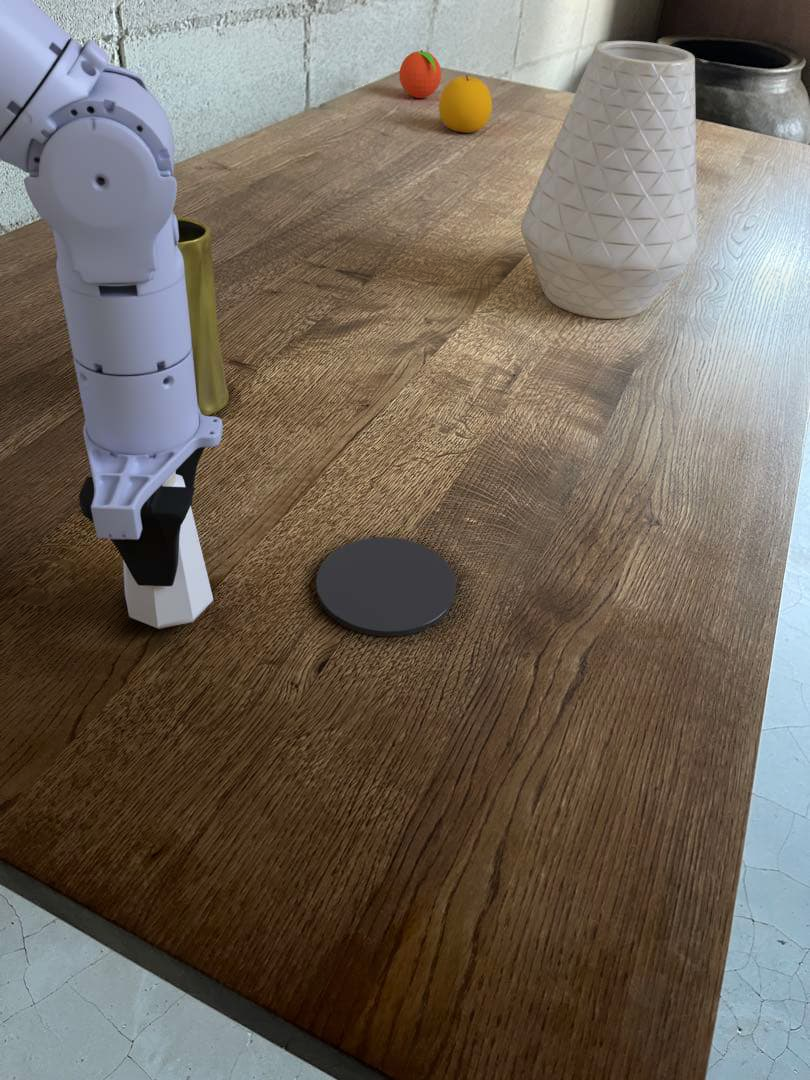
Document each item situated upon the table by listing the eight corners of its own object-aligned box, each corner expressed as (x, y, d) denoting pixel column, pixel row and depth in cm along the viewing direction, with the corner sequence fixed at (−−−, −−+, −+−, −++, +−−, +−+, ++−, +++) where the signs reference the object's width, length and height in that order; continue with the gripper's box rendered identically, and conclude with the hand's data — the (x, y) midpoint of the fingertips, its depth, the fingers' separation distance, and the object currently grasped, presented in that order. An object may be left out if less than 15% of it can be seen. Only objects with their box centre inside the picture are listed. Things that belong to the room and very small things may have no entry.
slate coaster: (311, 634, 56) (311, 629, 55) (319, 540, 63) (319, 534, 62) (459, 638, 56) (460, 633, 56) (451, 544, 63) (452, 539, 63)
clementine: (451, 102, 152) (455, 55, 147) (415, 106, 149) (418, 58, 144) (424, 90, 157) (428, 44, 153) (390, 94, 154) (392, 46, 150)
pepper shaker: (137, 566, 58) (111, 418, 51) (222, 572, 58) (208, 425, 51) (112, 627, 54) (81, 474, 47) (204, 633, 54) (186, 481, 47)
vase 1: (223, 422, 73) (208, 248, 64) (145, 418, 73) (120, 243, 64) (233, 383, 78) (221, 216, 69) (160, 380, 78) (139, 212, 69)
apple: (463, 140, 136) (468, 85, 131) (426, 127, 140) (430, 73, 135) (499, 132, 140) (506, 78, 135) (463, 119, 144) (468, 67, 140)
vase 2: (590, 349, 86) (644, 83, 72) (479, 279, 97) (506, 36, 83) (715, 312, 94) (787, 66, 80) (600, 252, 105) (644, 25, 91)
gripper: (190, 431, 40) (213, 648, 49) (233, 289, 51) (246, 486, 60) (25, 424, 40) (78, 644, 48) (105, 283, 51) (136, 482, 59)
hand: (163, 557), depth 54 cm, fingers closed on pepper shaker, 4 cm apart
